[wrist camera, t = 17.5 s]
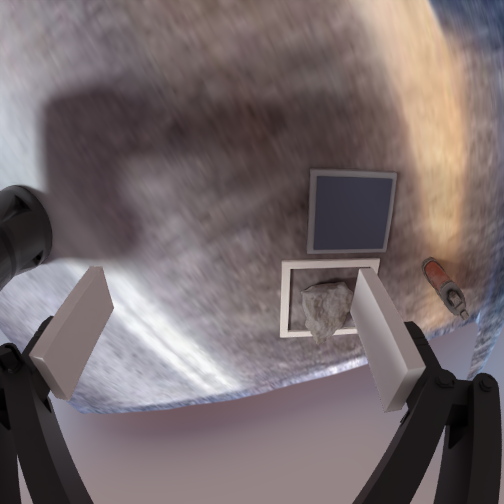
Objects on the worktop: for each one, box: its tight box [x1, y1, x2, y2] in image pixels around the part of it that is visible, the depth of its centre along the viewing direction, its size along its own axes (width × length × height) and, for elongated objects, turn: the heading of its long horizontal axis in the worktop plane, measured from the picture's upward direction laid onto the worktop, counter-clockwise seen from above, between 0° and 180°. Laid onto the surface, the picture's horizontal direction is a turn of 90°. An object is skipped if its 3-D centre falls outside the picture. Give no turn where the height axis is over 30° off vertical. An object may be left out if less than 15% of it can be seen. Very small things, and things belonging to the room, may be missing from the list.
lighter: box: [422, 257, 469, 320], centre depth 42 cm, size 8×3×10 cm, turn 46°
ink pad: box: [306, 168, 397, 254], centre depth 41 cm, size 12×12×1 cm
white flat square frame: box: [280, 258, 380, 337], centre depth 49 cm, size 15×15×1 cm
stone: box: [301, 282, 353, 345], centre depth 47 cm, size 10×8×6 cm
